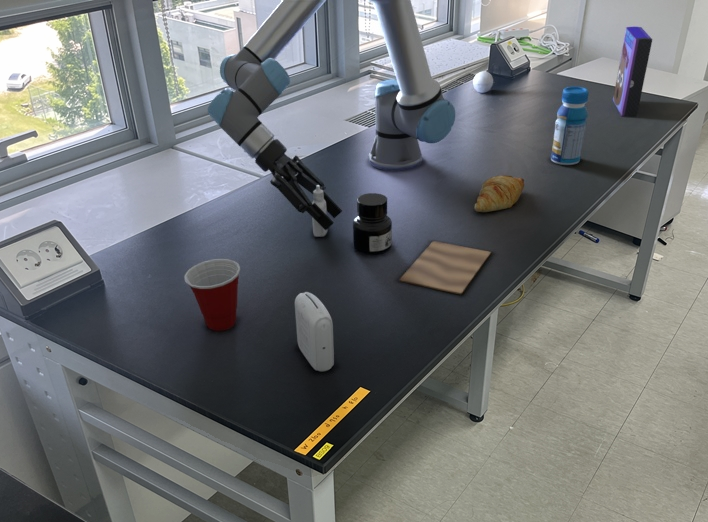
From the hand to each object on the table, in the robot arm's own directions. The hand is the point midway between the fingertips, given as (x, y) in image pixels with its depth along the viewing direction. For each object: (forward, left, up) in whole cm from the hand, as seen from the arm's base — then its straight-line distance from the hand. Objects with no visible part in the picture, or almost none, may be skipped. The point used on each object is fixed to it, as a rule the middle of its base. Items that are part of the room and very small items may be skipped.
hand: (333, 220), depth 174 cm
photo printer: (+47, +20, -4) cm, 51 cm away
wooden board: (+5, +30, -4) cm, 31 cm away
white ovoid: (-124, -3, -4) cm, 124 cm away
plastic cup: (+45, -3, -4) cm, 45 cm away
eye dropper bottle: (+1, -4, -4) cm, 5 cm away
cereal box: (-123, +46, -4) cm, 132 cm away
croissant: (-33, +30, -4) cm, 45 cm away
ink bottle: (+3, +11, -4) cm, 12 cm away
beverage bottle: (-68, +39, -4) cm, 79 cm away
